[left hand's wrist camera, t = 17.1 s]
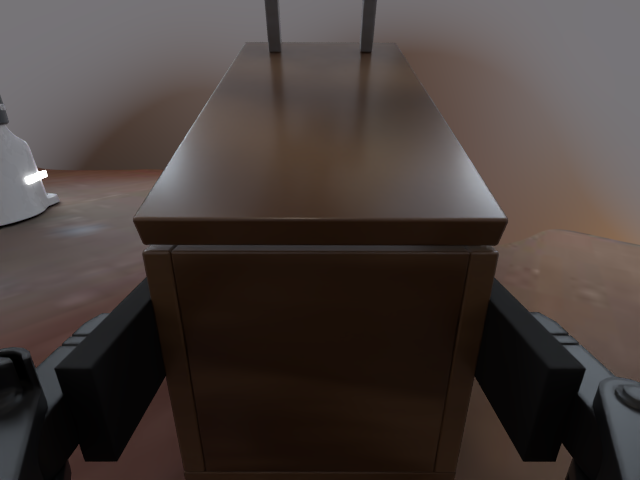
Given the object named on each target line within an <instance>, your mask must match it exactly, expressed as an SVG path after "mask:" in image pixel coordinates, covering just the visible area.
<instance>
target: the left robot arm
mask: <svg viewBox="0 0 640 480" xmlns="http://www.w3.org/2000/svg"><path fill="white" fill-rule="evenodd" d="M165 376H166V374H165V369H164V364H163V359H162V354H161V348H160V343H159V338H158V333H157V328H156V322H155V317H154V312H153V307H152V302H151V297H150V291H149V286H148V281H147V277H146V278H145V279H144V280H143V281H142V282H141V283H140V284H139V285H138V286H137V287H136V288H135V289H134V290H133V291H132V292H131V293H130V294H129V295H128V296H127V297H126V298H125V299H124V300H123V301H122V302H121V303H120V304H119V305H118V306H117V307H116V308H115V309H114V310H113V311H112V312H111V313H102V314H100V315H98V316H96V317H95V318H93V319H91V320H89V321H88V322H86V323H84V324H83V325H82V326H81V327H80V328H79V329H78V330H77V331H76V332H75V333H74V334H72V337H69V338H68V339H67V340H66V341H65V342H64V343H63V344H62V346H59V347H58V348H57V349H56V350H55V351H54V352H53V353H52V354H51V355H50V356H49V357H48V358H47V359H45V360H44V361H43V362H42V363H41V364H40V365H39V366H38V367H37V368H36V369H35V366H34V363H33V360H32V358H31V355H30V352H29V351H28V350H26V349H24V348H16V347H11V348H4V349H0V480H71V469H70V464H69V462H68V459H69V457H70V456H71V454H72V453H73V451H74V450H75V449H76V447H77V446H78V444H79V445H80V448H81V451H82V454H83V457H84V460H85V461H118V459H119V457H120V455H121V454H122V452H123V450H124V448H125V447H126V445H127V443H128V441H129V440H130V438H131V436H132V434H133V433H134V431H135V429H136V427H137V426H138V424H139V422H140V420H141V419H142V417H143V415H144V413H145V412H146V410H147V408H148V406H149V405H150V403H151V401H152V399H153V398H154V396H155V394H156V392H157V390H158V389H159V387H160V385H161V383H162V382H163V380H164V378H165ZM475 378H476V379H477V381H478V383H479V385H480V386H481V388H482V390H483V392H484V393H485V395H486V397H487V399H488V400H489V402H490V404H491V406H492V407H493V409H494V411H495V413H496V414H497V416H498V418H499V420H500V421H501V423H502V425H503V427H504V429H505V430H506V432H507V434H508V436H509V437H510V439H511V441H512V443H513V444H514V446H515V448H516V450H517V451H518V453H519V455H520V457H521V458H522V460H523V462H555V461H556V458H557V455H558V452H559V449H560V446H561V443H563V445H564V446H565V448H566V449H567V450H568V452H569V453H570V455H571V456H572V457H573V459H572V462H571V464H570V467H569V470H568V473H567V476H566V478H565V480H640V383H639V382H636V381H633V380H631V379H626V378H620V377H615V376H614V375H613V374H612V373H611V372H610V371H609V370H608V369H607V368H606V367H604V366H603V365H602V364H601V363H600V362H599V361H598V360H597V359H596V358H595V357H594V356H593V355H591V354H590V353H589V352H588V351H587V350H586V349H585V348H584V347H583V346H582V345H579V343H578V342H577V341H576V340H575V339H574V338H573V337H572V336H569V335H568V332H566V331H565V330H564V329H563V328H562V327H561V326H560V325H559V324H558V323H557V322H555V321H553V320H552V319H550V318H548V317H546V316H545V315H543V314H541V313H539V312H529V311H528V310H527V309H526V308H525V307H524V306H523V305H522V304H521V303H520V302H519V301H518V300H517V299H516V298H515V297H514V296H512V295H511V294H510V293H509V292H508V291H507V290H506V289H505V288H504V287H503V286H502V285H501V284H500V283H499V282H498V281H497V280H496V279H495V278H494V281H493V286H492V291H491V296H490V300H489V305H488V311H487V316H486V321H485V326H484V331H483V336H482V341H481V346H480V351H479V356H478V361H477V366H476V371H475Z"/></svg>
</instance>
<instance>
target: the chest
mask: <svg viewBox="0 0 640 480" xmlns="http://www.w3.org/2000/svg"><path fill="white" fill-rule="evenodd" d="M142 255H143V260H144V266H145V271H146V276H147V281H148V286H149V291H150V297H151V302H152V307H153V312H154V317H155V322H156V328H157V333H158V338H159V343H160V348H161V354H162V359H163V364H164V369H165V374H166V379H167V385H168V390H169V395H170V400H171V405H172V410H173V416H174V421H175V426H176V431H177V436H178V442H179V447H180V452H181V457H182V462H183V467H184V475H185V480H454V478H455V471H456V466H457V461H458V456H459V451H460V446H461V441H462V436H463V431H464V426H465V421H466V416H467V411H468V406H469V401H470V396H471V391H472V386H473V381H474V376H475V371H476V366H477V361H478V356H479V351H480V346H481V341H482V336H483V331H484V326H485V321H486V316H487V311H488V305H489V300H490V296H491V291H492V286H493V281H494V276H495V271H496V266H497V261H498V256H499V253H498V252H497V251H496V250H495V249H494V248H493V247H491V246H384V245H150V246H149V247H147V248H146V249H145V250H144V251H143V253H142Z"/></svg>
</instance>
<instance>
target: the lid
mask: <svg viewBox="0 0 640 480" xmlns="http://www.w3.org/2000/svg"><path fill="white" fill-rule="evenodd" d="M376 3H377V0H363V3H362V18H361V32H360V43H281V27H280V11H279V0H265V10H266V22H267V34H268V42H267V43H266V42H246V43H245V44H244V46H243V47H242V49H241V50H240V52H239V54H238V55H237V57H236V58H235V60H234V61H233V63H232V64H231V66H230V68H229V69H228V71H227V72H226V74H225V75H224V77H223V79H222V80H221V82H220V83H219V85H218V86H217V88H216V89H215V91H214V93H213V94H212V96H211V97H210V99H209V100H208V102H207V103H206V105H205V107H204V108H203V110H202V111H201V113H200V114H199V116H198V118H197V119H196V121H195V122H194V124H193V125H192V127H191V129H190V130H189V132H188V133H187V135H186V136H185V138H184V139H183V141H182V143H181V144H180V146H179V147H178V149H177V150H176V152H175V153H174V155H173V157H172V158H171V160H170V161H169V163H168V164H167V166H166V168H165V169H164V171H163V172H162V174H161V175H160V177H159V178H158V180H157V182H156V183H155V185H154V186H153V188H152V189H151V191H150V192H149V194H148V196H147V197H146V199H145V200H144V202H143V203H142V205H141V207H140V208H139V210H138V211H137V213H136V214H135V216H134V217H133V222H134V224H135V227H136V229H137V231H138V233H139V236H140V238H141V240H142V242H143V244H145V245H384V246H496V245H497V244H498V243H499V241H500V239H501V236H502V234H503V232H504V230H505V228H506V225H507V223H508V218H507V217H506V215H505V214H504V212H503V210H502V209H501V207H500V206H499V204H498V203H497V201H496V200H495V198H494V196H493V195H492V193H491V192H490V190H489V189H488V187H487V185H486V184H485V182H484V181H483V179H482V178H481V176H480V174H479V173H478V171H477V170H476V168H475V167H474V165H473V163H472V162H471V160H470V159H469V157H468V156H467V154H466V152H465V151H464V149H463V148H462V146H461V145H460V143H459V141H458V140H457V138H456V137H455V135H454V134H453V132H452V131H451V129H450V127H449V126H448V124H447V123H446V121H445V120H444V118H443V117H442V115H441V113H440V112H439V110H438V109H437V107H436V105H435V104H434V102H433V101H432V99H431V98H430V96H429V95H428V93H427V91H426V90H425V88H424V87H423V85H422V84H421V82H420V80H419V79H418V77H417V76H416V74H415V73H414V71H413V69H412V68H411V66H410V65H409V63H408V62H407V60H406V58H405V57H404V55H403V54H402V52H401V51H400V49H399V47H398V46H397V44H396V43H373V36H374V25H375V14H376Z"/></svg>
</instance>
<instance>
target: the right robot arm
mask: <svg viewBox="0 0 640 480" xmlns="http://www.w3.org/2000/svg"><path fill="white" fill-rule="evenodd" d="M5 110H6V107H5V105H4V104H3V102H2V99H1V96H0V226H2V225H6V224H10V223H14V222H17V221H21V220H24V219H27V218H30V217H33V216H35V215H37V214H40V213H41V212H43V211H44V210H46V208H47V207H48V206H50V205H53V204H55V203H57V202H59V201H60V200H59V198H58V196H57V194H52V193H46V191H45V188H44V185H43V183H42V180H41V179H42V178H45V177H47V173H46V170H44V171H41V172H38V169H37V166H36V164H35V161H34V158H33V156H32V153H31V150H30V148H29V145H28V144H27V142H25V141H23V140H22V139H21V138H19V137H17V136H15V135H14V134H13V133H12V132H11V131H10V130H9V129H8V128H7V126H6V125H5V124H8V122H9V121H8V117H7V114H6V111H5Z"/></svg>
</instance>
